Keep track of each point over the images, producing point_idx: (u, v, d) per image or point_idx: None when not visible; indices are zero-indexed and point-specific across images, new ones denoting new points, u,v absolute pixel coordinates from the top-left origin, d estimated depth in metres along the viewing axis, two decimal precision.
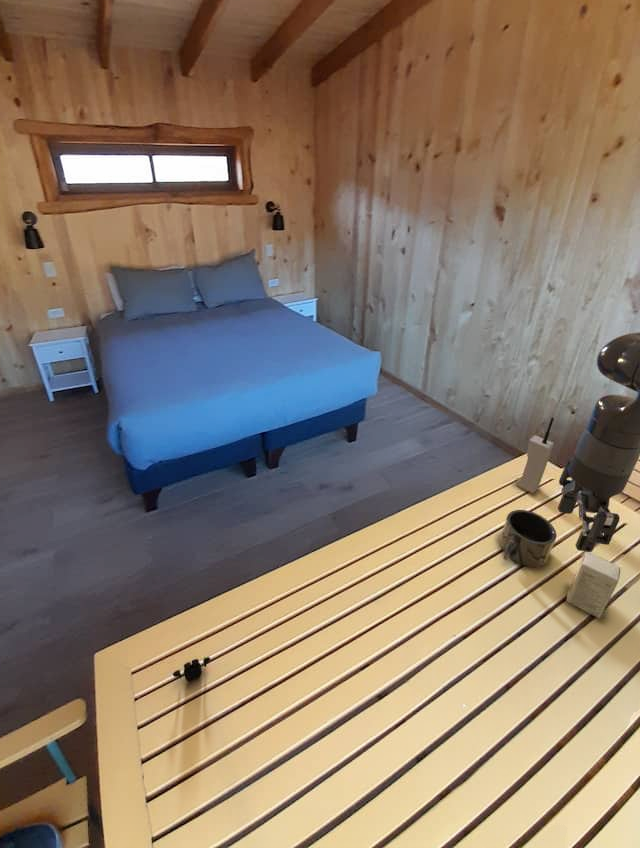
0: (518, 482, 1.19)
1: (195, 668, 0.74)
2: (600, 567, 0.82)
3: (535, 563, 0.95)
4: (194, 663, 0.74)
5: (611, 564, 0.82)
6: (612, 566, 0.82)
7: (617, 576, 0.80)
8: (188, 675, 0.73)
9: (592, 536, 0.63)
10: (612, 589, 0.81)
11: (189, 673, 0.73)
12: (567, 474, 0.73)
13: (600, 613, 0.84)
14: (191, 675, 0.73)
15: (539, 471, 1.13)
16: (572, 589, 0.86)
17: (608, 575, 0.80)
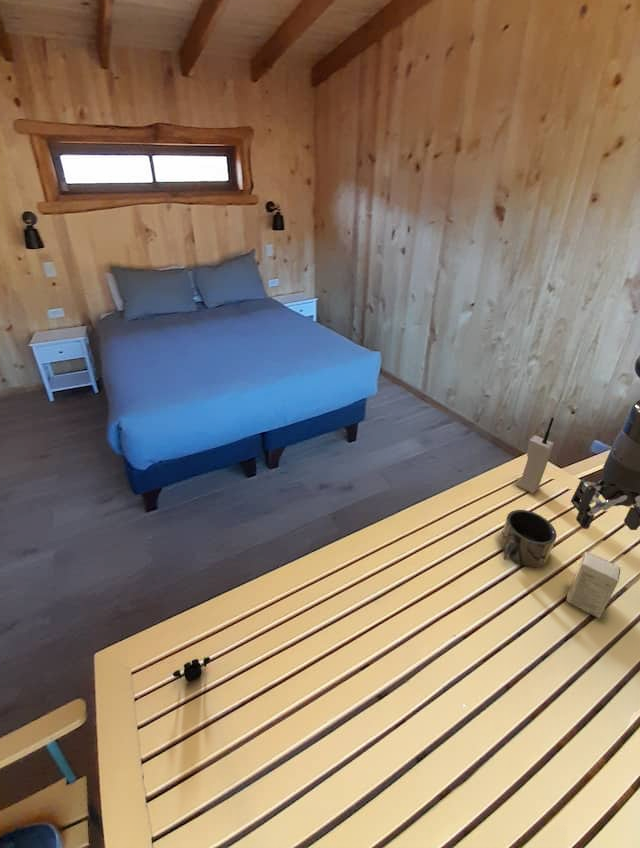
0: (518, 482, 1.19)
1: (195, 668, 0.74)
2: (600, 567, 0.82)
3: (535, 563, 0.95)
4: (194, 663, 0.74)
5: (611, 564, 0.82)
6: (612, 566, 0.82)
7: (617, 576, 0.80)
8: (188, 675, 0.73)
9: (573, 497, 0.74)
10: (612, 589, 0.81)
11: (189, 673, 0.73)
12: None
13: (600, 613, 0.84)
14: (191, 675, 0.73)
15: (539, 471, 1.13)
16: (572, 589, 0.86)
17: (608, 575, 0.80)
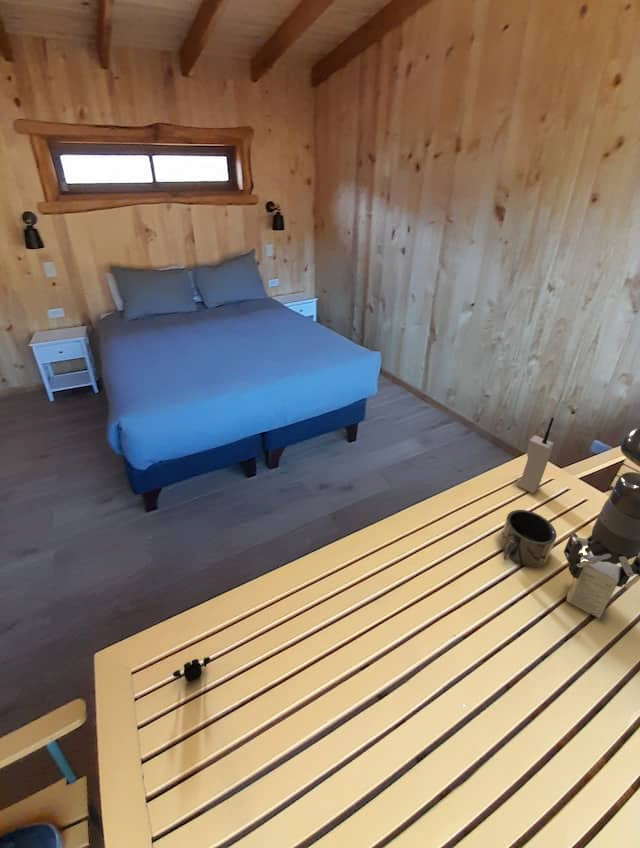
0: (518, 482, 1.19)
1: (195, 668, 0.74)
2: (600, 567, 0.82)
3: (535, 563, 0.95)
4: (194, 663, 0.74)
5: (611, 564, 0.82)
6: (613, 566, 0.82)
7: (617, 576, 0.80)
8: (188, 675, 0.73)
9: None
10: (612, 589, 0.81)
11: (189, 673, 0.73)
12: (637, 556, 0.80)
13: (600, 613, 0.84)
14: (191, 675, 0.73)
15: (539, 471, 1.13)
16: (572, 589, 0.86)
17: (608, 575, 0.80)
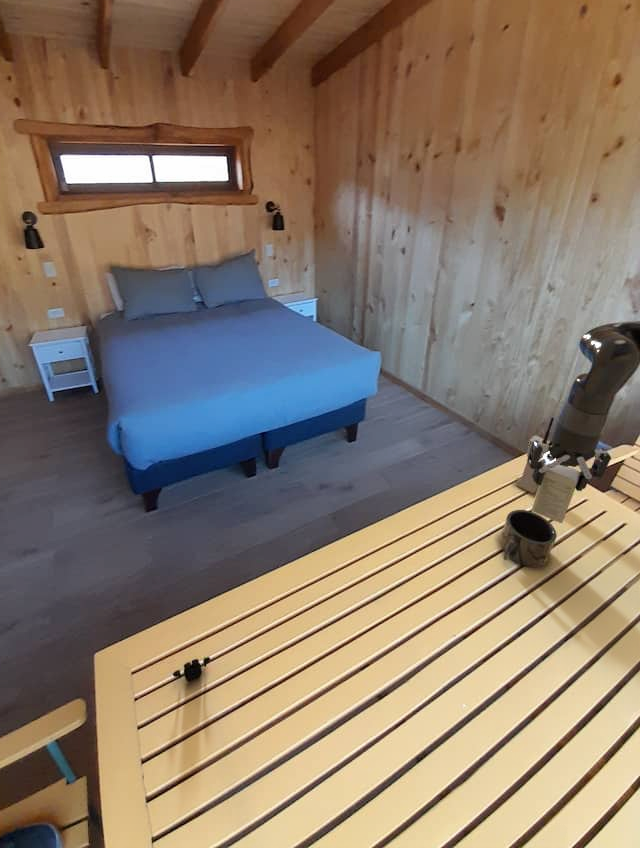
0: (518, 482, 1.19)
1: (195, 668, 0.74)
2: (561, 472, 0.86)
3: (535, 563, 0.95)
4: (194, 663, 0.74)
5: (572, 469, 0.86)
6: (573, 471, 0.86)
7: (576, 478, 0.84)
8: (188, 675, 0.73)
9: None
10: (572, 491, 0.85)
11: (189, 673, 0.73)
12: (595, 459, 0.84)
13: (562, 518, 0.88)
14: (191, 675, 0.73)
15: None
16: (536, 497, 0.90)
17: (567, 477, 0.84)
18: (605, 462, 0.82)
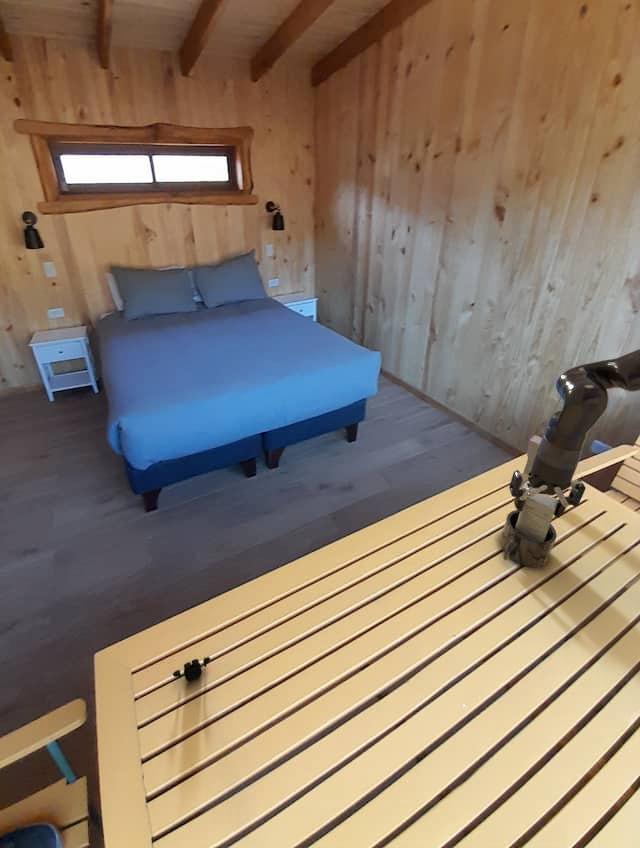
0: None
1: (195, 668, 0.74)
2: (540, 499, 0.92)
3: (535, 563, 0.95)
4: (194, 663, 0.74)
5: (550, 497, 0.93)
6: (551, 499, 0.92)
7: (554, 506, 0.90)
8: (188, 675, 0.73)
9: None
10: (550, 518, 0.91)
11: (189, 673, 0.73)
12: (572, 488, 0.90)
13: None
14: (191, 675, 0.73)
15: None
16: (518, 522, 0.96)
17: (546, 505, 0.90)
18: (580, 492, 0.88)
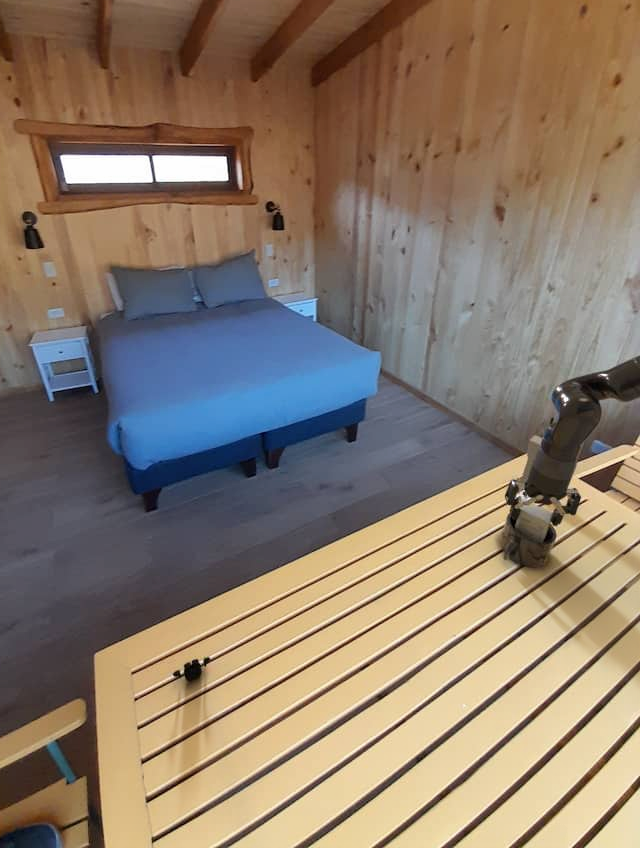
0: (518, 482, 1.19)
1: (195, 668, 0.74)
2: (535, 512, 0.94)
3: (535, 563, 0.95)
4: (194, 663, 0.74)
5: (545, 510, 0.94)
6: (546, 511, 0.94)
7: (549, 519, 0.92)
8: (188, 675, 0.73)
9: None
10: (545, 531, 0.93)
11: (189, 673, 0.73)
12: None
13: None
14: (191, 675, 0.73)
15: None
16: None
17: (541, 518, 0.92)
18: (576, 501, 0.89)
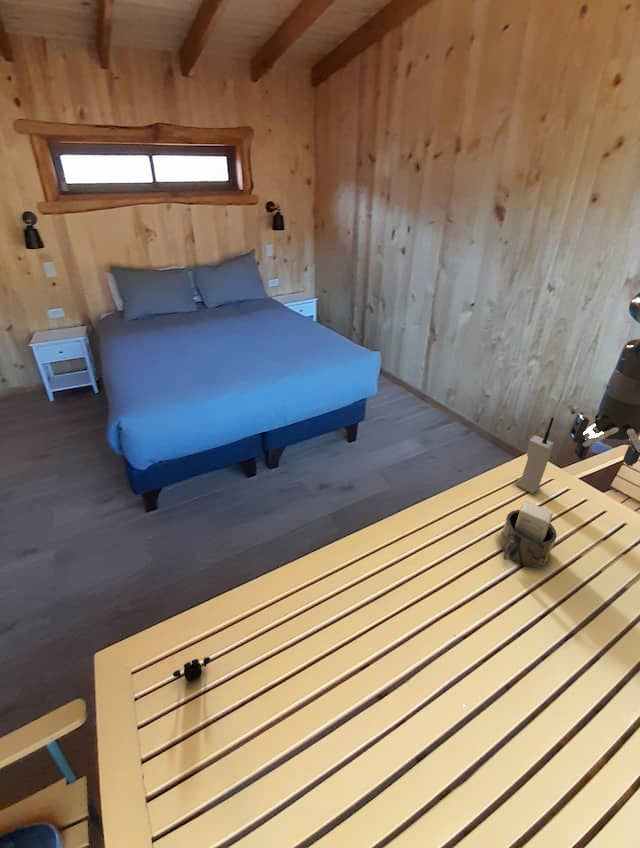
0: (518, 482, 1.19)
1: (195, 668, 0.74)
2: (535, 512, 0.94)
3: (535, 563, 0.95)
4: (194, 663, 0.74)
5: (545, 510, 0.94)
6: (546, 511, 0.94)
7: (549, 519, 0.92)
8: (188, 675, 0.73)
9: None
10: (545, 531, 0.93)
11: (189, 673, 0.73)
12: None
13: None
14: (191, 675, 0.73)
15: (539, 471, 1.13)
16: None
17: (541, 518, 0.92)
18: None
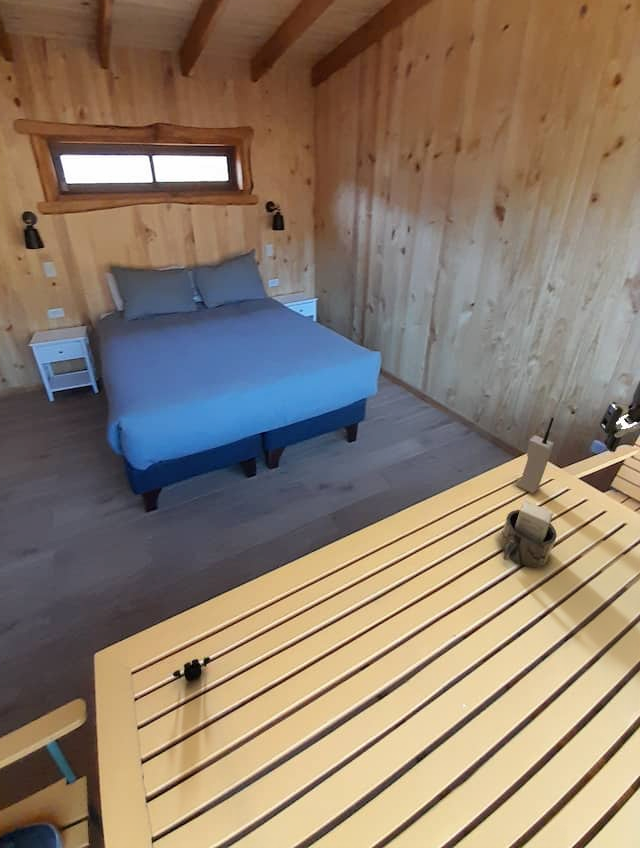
0: (518, 482, 1.19)
1: (195, 668, 0.74)
2: (535, 512, 0.94)
3: (535, 563, 0.95)
4: (194, 663, 0.74)
5: (545, 510, 0.94)
6: (546, 511, 0.94)
7: (549, 519, 0.92)
8: (188, 675, 0.73)
9: None
10: (545, 531, 0.93)
11: (189, 673, 0.73)
12: None
13: None
14: (191, 675, 0.73)
15: (539, 471, 1.13)
16: None
17: (541, 518, 0.92)
18: None
